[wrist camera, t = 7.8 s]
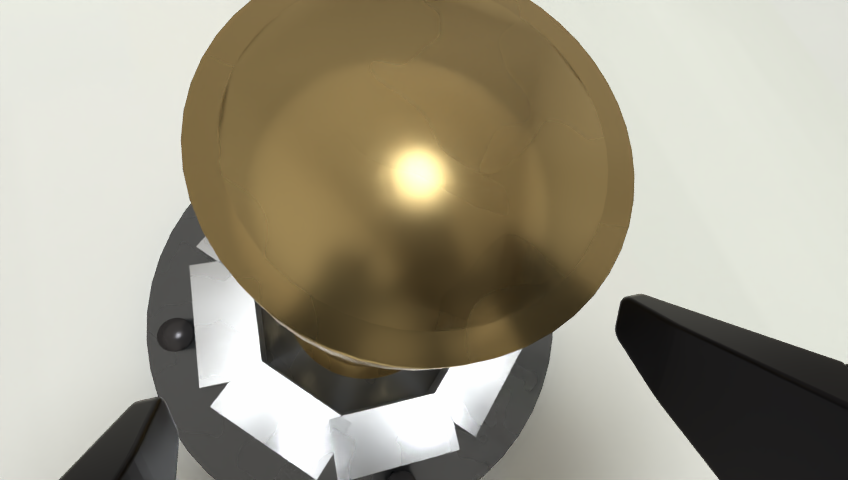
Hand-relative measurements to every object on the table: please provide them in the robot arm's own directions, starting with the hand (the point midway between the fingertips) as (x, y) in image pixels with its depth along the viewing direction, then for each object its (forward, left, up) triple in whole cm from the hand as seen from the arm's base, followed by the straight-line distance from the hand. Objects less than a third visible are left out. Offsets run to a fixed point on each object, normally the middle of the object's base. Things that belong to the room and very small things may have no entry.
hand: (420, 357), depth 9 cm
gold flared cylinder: (+2, +2, -9) cm, 10 cm away
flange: (+2, +2, -10) cm, 11 cm away
